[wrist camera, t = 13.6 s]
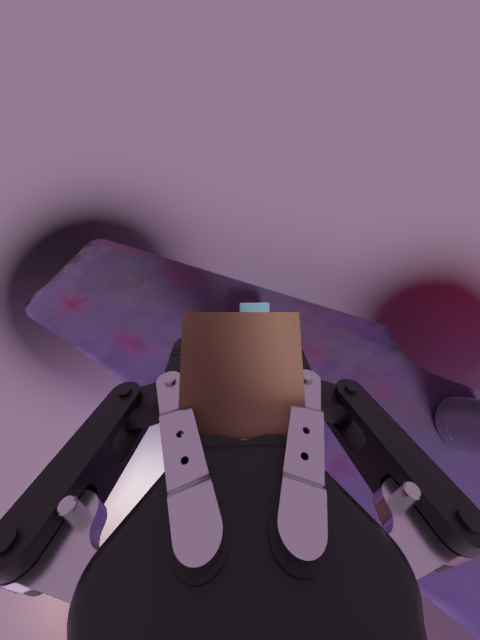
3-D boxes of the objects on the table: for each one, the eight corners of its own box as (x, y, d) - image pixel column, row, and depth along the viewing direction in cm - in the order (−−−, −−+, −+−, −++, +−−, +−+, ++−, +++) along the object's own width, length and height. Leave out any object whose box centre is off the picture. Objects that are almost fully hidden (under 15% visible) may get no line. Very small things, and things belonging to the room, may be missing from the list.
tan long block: (263, 340, 19) (299, 312, 10) (265, 400, 18) (307, 437, 9) (205, 340, 19) (182, 311, 9) (204, 401, 18) (176, 441, 8)
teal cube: (264, 310, 43) (269, 302, 38) (265, 335, 42) (270, 331, 37) (238, 310, 43) (239, 302, 38) (239, 336, 42) (240, 331, 37)
